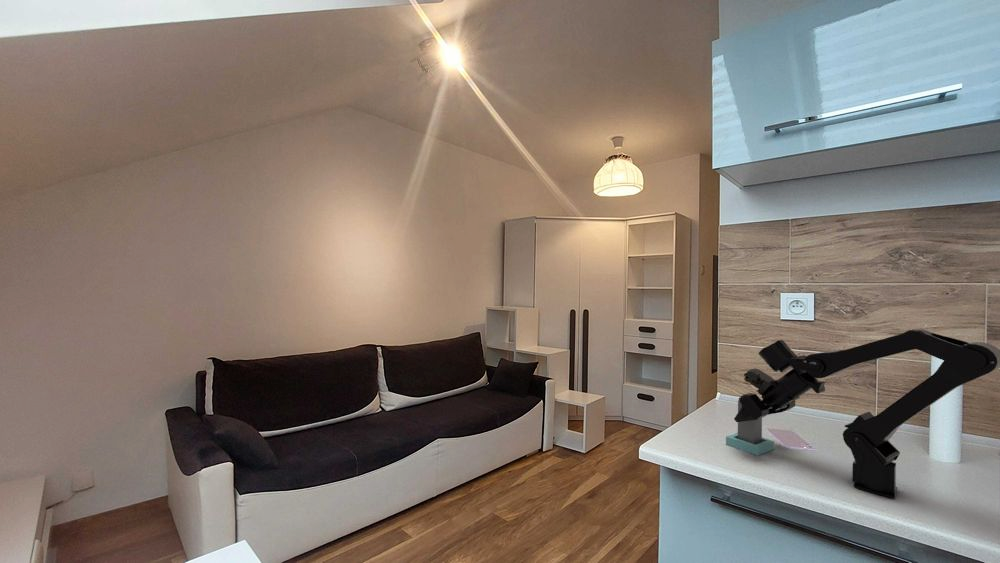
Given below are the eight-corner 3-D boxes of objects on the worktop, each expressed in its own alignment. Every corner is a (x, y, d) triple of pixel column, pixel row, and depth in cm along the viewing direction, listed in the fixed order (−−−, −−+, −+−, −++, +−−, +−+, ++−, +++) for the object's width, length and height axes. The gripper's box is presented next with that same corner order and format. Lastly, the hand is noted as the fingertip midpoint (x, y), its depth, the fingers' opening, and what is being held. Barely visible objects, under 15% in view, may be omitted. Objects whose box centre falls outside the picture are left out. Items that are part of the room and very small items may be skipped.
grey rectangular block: (761, 448, 111) (762, 402, 111) (753, 451, 109) (754, 404, 109) (745, 442, 115) (746, 398, 115) (737, 445, 113) (738, 400, 113)
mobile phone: (792, 429, 124) (817, 449, 110) (792, 433, 124) (817, 452, 110) (764, 427, 126) (785, 445, 112) (764, 430, 126) (785, 449, 111)
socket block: (774, 449, 111) (774, 441, 111) (757, 455, 106) (757, 447, 106) (742, 438, 118) (742, 431, 118) (725, 444, 113) (725, 436, 113)
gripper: (783, 358, 114) (742, 388, 123) (747, 364, 104) (705, 396, 113) (816, 392, 107) (770, 422, 116) (781, 402, 97) (733, 434, 106)
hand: (744, 417), depth 113 cm, fingers open, 9 cm apart
